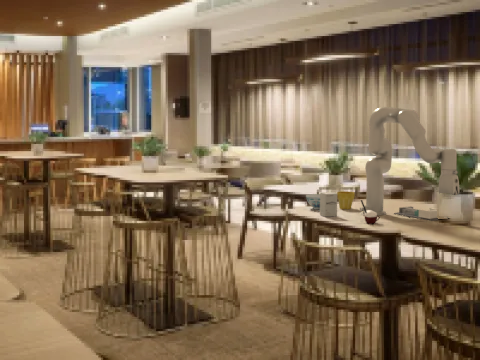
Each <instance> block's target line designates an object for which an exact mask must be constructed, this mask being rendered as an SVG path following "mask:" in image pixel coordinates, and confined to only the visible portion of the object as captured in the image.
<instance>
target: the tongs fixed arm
mask: <svg viewBox="0 0 480 360" xmlns="http://www.w3.org/2000/svg"><path fill="white" fill-rule="evenodd" d="M405 208H413V209H414V206H411V205H410V206H403V207H399V209H398V210H399V211H398V213H402V214H408V215H414V216H419V211H413V210H407V209H405Z"/></svg>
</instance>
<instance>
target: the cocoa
mask: <svg viewBox="0 0 480 360" xmlns="http://www.w3.org/2000/svg"><path fill="white" fill-rule="evenodd" d="M360 202H361V203H360V204H361V206H362V208H364V211H365V214H364V213H363V214H364V221H365V223H366V224H368V225H371V224H372V225H373V224H376V223H377V222H378V221H379V220H380V217H381V216H380V215H377V213H376V212H374V211H372V210H367V211H366V209H365V203H364V201H363V200H362V199H360Z"/></svg>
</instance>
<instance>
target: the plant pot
mask: <svg viewBox="0 0 480 360" xmlns="http://www.w3.org/2000/svg"><path fill="white" fill-rule="evenodd" d="M336 193H337V202H338V204H339V205H338V206H339V209H341V210H351V209H352V205H353V202H354V199H355V191H346V190H345V191H344V190H343V191H337V192H336Z"/></svg>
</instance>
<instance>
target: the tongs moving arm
mask: <svg viewBox="0 0 480 360" xmlns="http://www.w3.org/2000/svg"><path fill="white" fill-rule="evenodd" d="M405 209H407V210H413V211H419V209H418V208H414V207H413V208H405Z"/></svg>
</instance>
